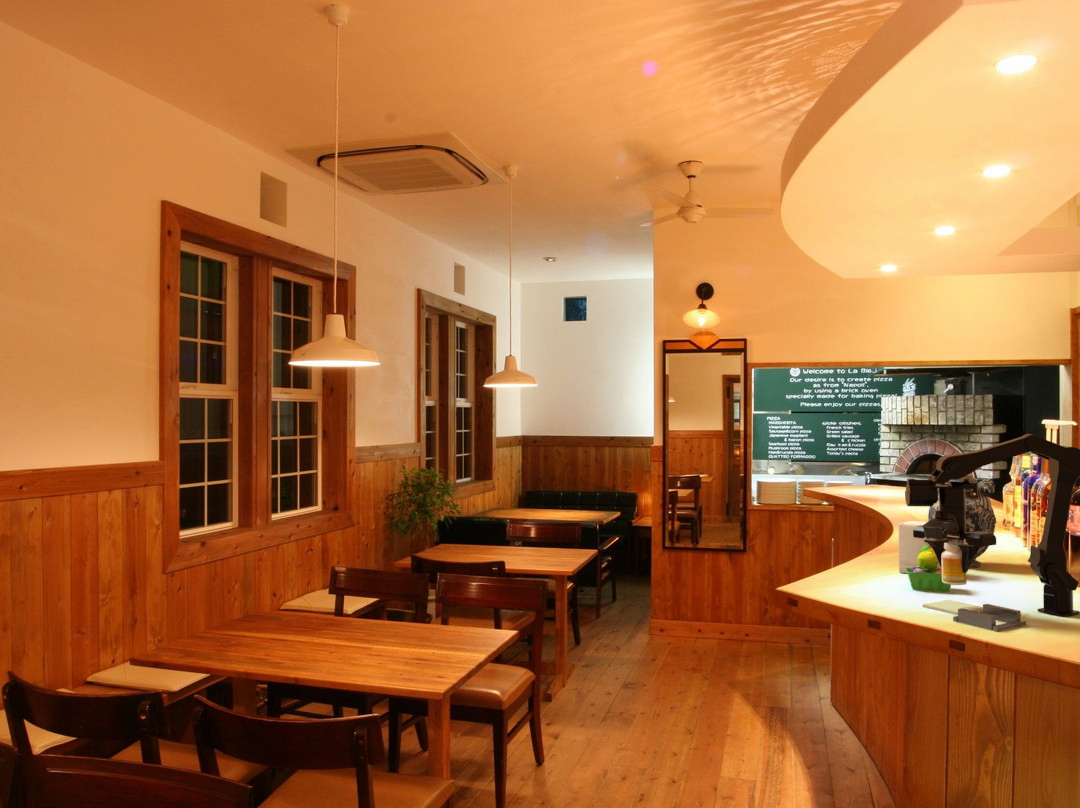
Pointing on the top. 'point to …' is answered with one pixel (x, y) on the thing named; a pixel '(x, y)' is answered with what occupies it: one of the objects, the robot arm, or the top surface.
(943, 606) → the pad
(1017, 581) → the top surface
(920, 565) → the fruit basket
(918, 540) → the supplement box
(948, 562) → the supplement bottle
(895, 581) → the top surface
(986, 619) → the grey low square frame
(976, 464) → the robot arm
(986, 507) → the decorative vase
